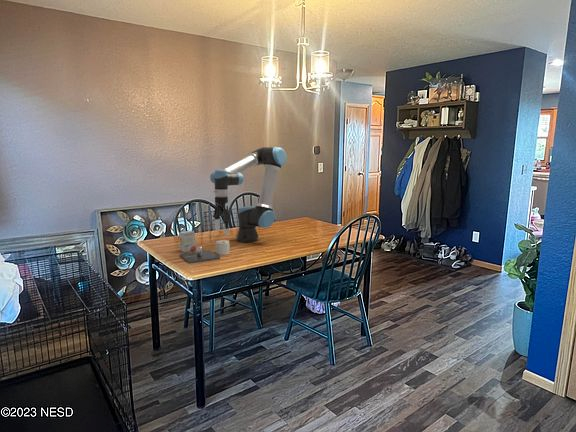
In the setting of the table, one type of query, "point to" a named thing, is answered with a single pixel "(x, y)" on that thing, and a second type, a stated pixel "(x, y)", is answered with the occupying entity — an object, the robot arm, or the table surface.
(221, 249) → the light grey boxy piece
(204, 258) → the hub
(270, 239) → the table surface
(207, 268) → the table surface
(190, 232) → the ink box
